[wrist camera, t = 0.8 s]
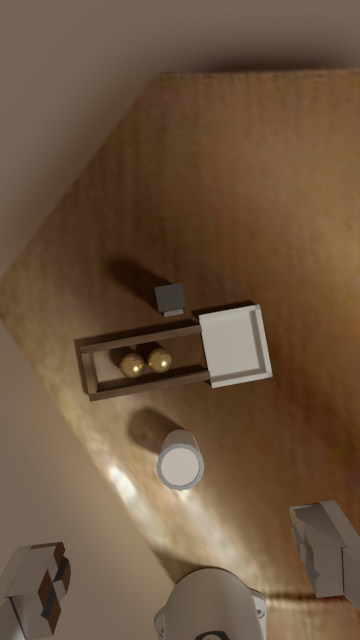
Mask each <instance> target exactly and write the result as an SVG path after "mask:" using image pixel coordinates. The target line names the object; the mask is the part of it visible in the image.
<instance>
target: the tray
mask: <svg viewBox="0 0 360 640" xmlns="http://www.w3.org/2000/svg"><path fill="white" fill-rule="evenodd" d="M198 316H199V322H200V325H201V327H202V332H201V333H202V338H203V344H204V349H205V354H206V360H207V365H208V370H209V372H210V377H211V379H210V382H211V386H212V388H215V387H220V386H225V385H231V384H236V383H242V382H247V381H252V380H258V379H263V378H268V377H273V376H272V371H271V365H270V360H269V354H268V349H267V343H266V338H265V332H264V327H263V321H262V316H261V310H260V305H259V304H258V305H253V306H247V307H242V308H237V309H231V310H226V311H220V312H215V313H209V314H204V315H198Z"/></svg>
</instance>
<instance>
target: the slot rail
mask: <svg viewBox="0 0 360 640" xmlns="http://www.w3.org/2000/svg"><path fill="white" fill-rule="evenodd" d="M201 332H202V327H201V325H195V326H190V327H184V328H179V329H173V330H168V331H162V332H157V333H151V334H146V335H140V336H135V337H130V338H124V339H119V340H113V341H108V342H102V343H97V344H91V345H86V346H82V347H80V350H81V355H82V360H83V366H84V371H85V377H86V382H87V387H88V393H89V398H90V402H91V401H96V400H102V399H107V398H113V397H118V396H123V395H129V394H134V393H139V392H145V391H150V390H156V389H161V388H166V387H172V386H177V385H183V384H188V383H193V382H199V381H204V380H209V379H211V377H210V372H209V370H204V371H199V372H193V373H188V374H182V375H177V376H172V377H166V378H161V379H155V380H150V381H145V382H139V383H134V384H128V385H123V386H118V387H112V388H107V389H101V390H99V385H98V379H97V374H96V368H95V363H94V357H93V352H97V351H103V350H108V349H113V348H119V347H124V346H130V345H135V344H141V343H146V342H152V341H157V340H162V339H168V338H173V337H179V336H184V335H190V334H195V333H201Z"/></svg>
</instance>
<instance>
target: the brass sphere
mask: <svg viewBox="0 0 360 640" xmlns="http://www.w3.org/2000/svg"><path fill="white" fill-rule="evenodd" d="M144 369H145V362H144V359H143V358H142V357H141V356H140V355H139V354H136V353H130V354H127V355H125V356H124V357H123V358H122V360H121V362H120V370H121V372H122V374H123V375H124V376H126V377H128V378H137V377H139V376H140V375H141V374H142V373H143V371H144Z"/></svg>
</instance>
